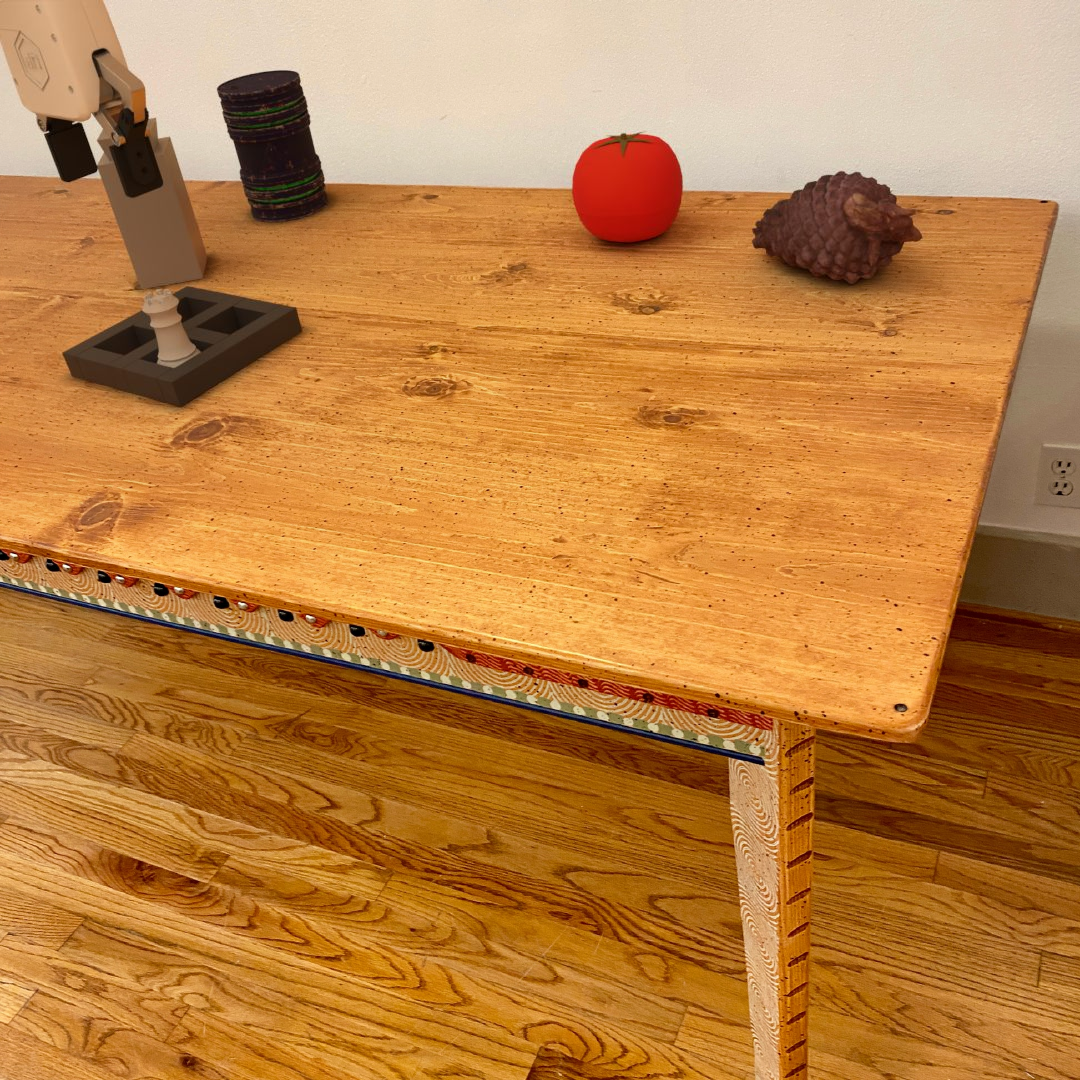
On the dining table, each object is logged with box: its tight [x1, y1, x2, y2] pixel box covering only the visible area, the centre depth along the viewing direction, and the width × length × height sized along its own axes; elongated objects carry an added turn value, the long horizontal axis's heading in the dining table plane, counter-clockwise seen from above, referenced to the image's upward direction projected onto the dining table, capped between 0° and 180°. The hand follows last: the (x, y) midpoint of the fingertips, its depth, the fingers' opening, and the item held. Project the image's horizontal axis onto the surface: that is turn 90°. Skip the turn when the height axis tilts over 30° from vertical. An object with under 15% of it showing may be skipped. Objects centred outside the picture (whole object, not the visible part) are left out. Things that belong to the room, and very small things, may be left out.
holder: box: [61, 285, 303, 407], centre depth 103 cm, size 16×16×2 cm
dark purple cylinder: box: [216, 69, 330, 223], centre depth 131 cm, size 10×10×15 cm
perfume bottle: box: [96, 113, 208, 290], centre depth 116 cm, size 7×7×18 cm
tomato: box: [571, 130, 684, 243], centre depth 111 cm, size 11×12×10 cm
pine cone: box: [751, 170, 924, 285], centre depth 99 cm, size 18×10×10 cm
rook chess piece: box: [141, 288, 201, 368], centre depth 98 cm, size 4×4×8 cm
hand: (112, 184), depth 88 cm, fingers open, 9 cm apart
